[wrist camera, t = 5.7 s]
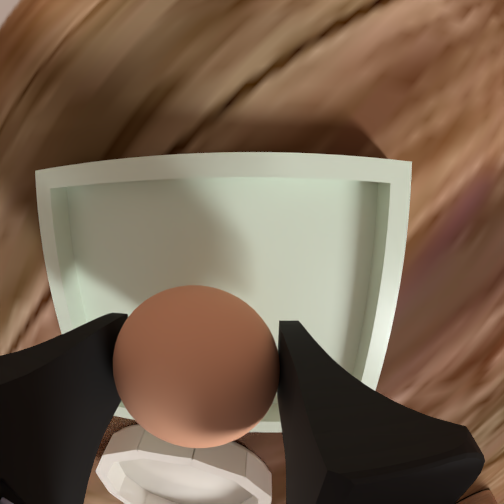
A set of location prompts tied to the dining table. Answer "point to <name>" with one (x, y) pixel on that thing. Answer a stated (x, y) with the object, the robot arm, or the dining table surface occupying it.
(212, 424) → the ball
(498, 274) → the dining table surface
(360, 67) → the dining table surface
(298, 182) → the tray
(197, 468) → the dish
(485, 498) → the vase
